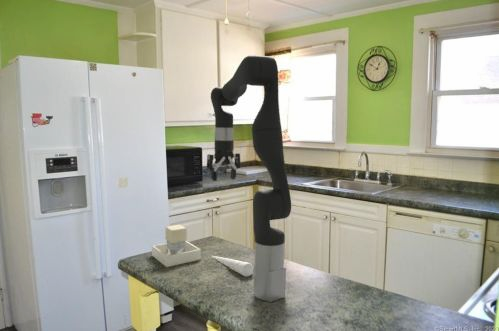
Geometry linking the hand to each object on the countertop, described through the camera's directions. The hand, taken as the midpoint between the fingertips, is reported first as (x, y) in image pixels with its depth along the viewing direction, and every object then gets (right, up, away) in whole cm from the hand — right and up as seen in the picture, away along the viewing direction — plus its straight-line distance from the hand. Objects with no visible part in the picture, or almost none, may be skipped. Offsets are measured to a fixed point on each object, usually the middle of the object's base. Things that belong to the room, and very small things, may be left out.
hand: (223, 179), depth 155 cm
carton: (-18, -23, -5) cm, 30 cm away
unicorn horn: (+3, -32, -11) cm, 34 cm away
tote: (-18, -31, -4) cm, 36 cm away
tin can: (-18, -30, -4) cm, 35 cm away
